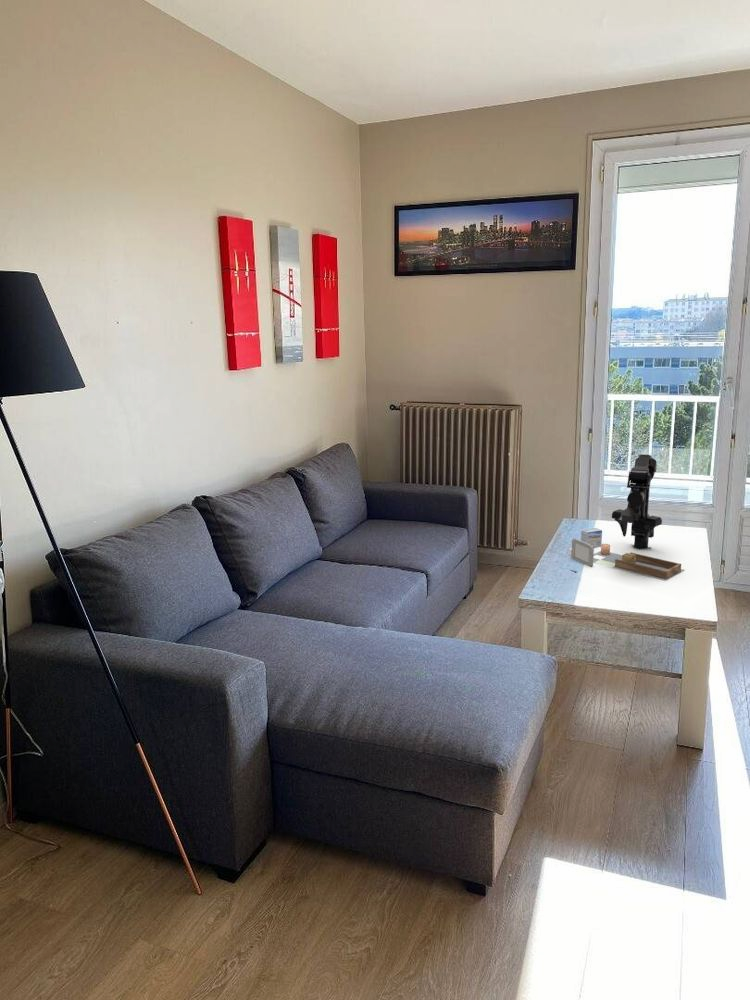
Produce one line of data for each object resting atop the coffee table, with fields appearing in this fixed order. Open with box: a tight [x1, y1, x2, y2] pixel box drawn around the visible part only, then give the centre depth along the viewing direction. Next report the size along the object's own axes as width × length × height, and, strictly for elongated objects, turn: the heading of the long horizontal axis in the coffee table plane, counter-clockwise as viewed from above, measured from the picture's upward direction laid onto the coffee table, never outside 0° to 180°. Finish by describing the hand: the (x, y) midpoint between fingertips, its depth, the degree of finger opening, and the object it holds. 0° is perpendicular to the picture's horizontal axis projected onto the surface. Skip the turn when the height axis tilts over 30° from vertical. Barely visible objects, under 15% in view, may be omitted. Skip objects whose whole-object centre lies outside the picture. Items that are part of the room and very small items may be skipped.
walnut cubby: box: [615, 552, 682, 580], centre depth 299 cm, size 13×21×3 cm, turn 44°
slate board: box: [593, 550, 686, 582], centre depth 304 cm, size 17×36×1 cm, turn 44°
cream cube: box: [568, 546, 572, 557], centre depth 318 cm, size 4×4×4 cm
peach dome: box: [600, 543, 611, 555], centre depth 317 cm, size 4×4×4 cm
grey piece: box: [570, 538, 595, 573], centre depth 306 cm, size 13×9×10 cm
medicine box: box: [580, 527, 603, 549], centre depth 328 cm, size 8×4×9 cm, turn 112°
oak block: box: [621, 552, 636, 564], centre depth 304 cm, size 4×4×4 cm
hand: (635, 538), depth 299 cm, fingers open, 9 cm apart
